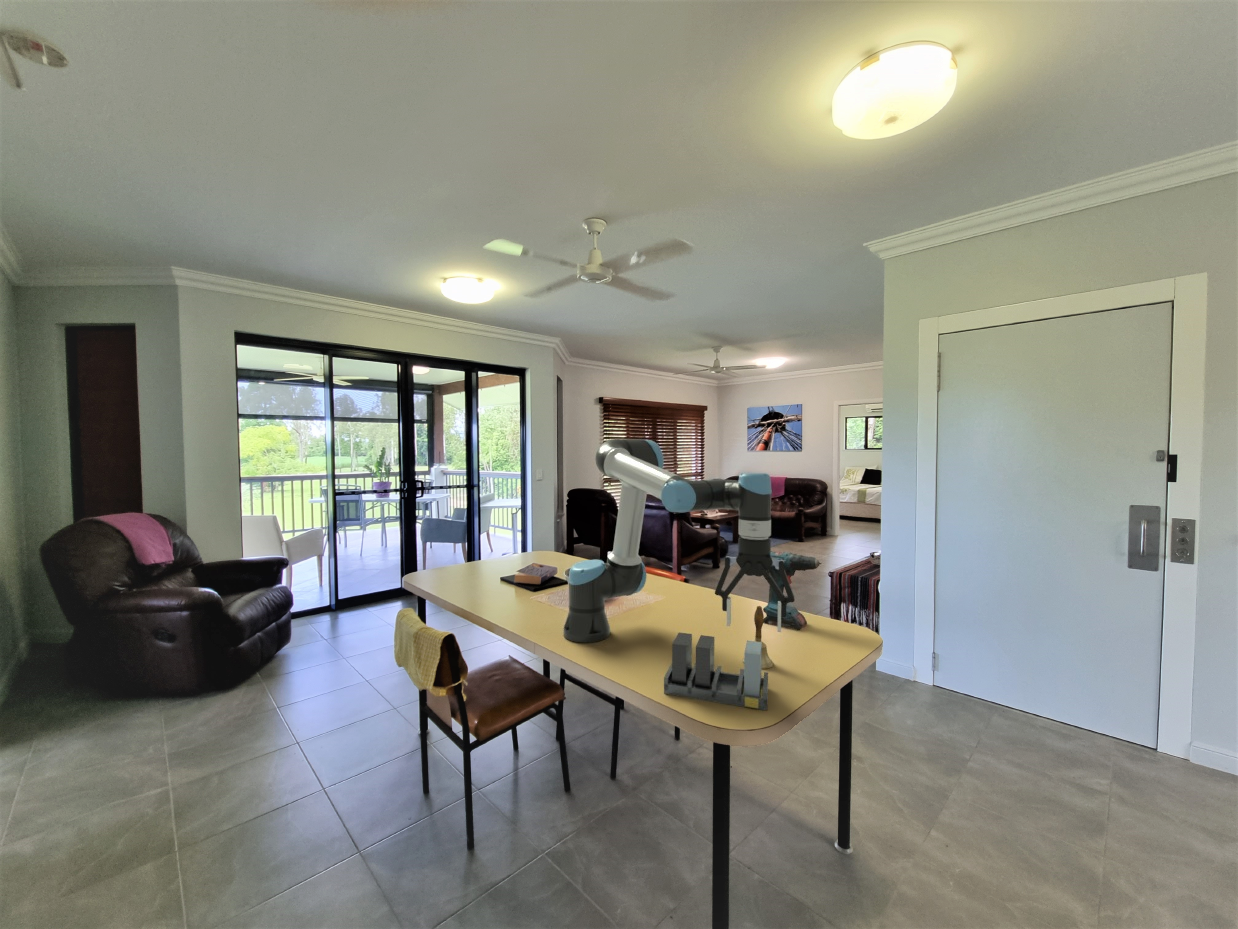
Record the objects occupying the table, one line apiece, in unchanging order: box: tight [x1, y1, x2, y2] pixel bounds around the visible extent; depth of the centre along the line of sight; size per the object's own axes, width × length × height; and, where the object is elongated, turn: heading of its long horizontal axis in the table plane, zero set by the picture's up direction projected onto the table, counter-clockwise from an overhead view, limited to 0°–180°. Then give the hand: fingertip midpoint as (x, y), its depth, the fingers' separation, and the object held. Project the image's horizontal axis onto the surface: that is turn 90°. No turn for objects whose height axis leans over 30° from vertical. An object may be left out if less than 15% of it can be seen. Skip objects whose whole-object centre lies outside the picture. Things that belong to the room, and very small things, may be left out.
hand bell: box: [742, 605, 774, 670], centre depth 136 cm, size 8×8×16 cm
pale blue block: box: [743, 640, 763, 697], centre depth 116 cm, size 4×8×11 cm, turn 161°
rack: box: [663, 631, 769, 711], centre depth 119 cm, size 24×12×12 cm, turn 71°
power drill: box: [762, 550, 822, 631], centre depth 167 cm, size 9×23×25 cm, turn 53°
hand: (753, 627), depth 116 cm, fingers open, 11 cm apart
